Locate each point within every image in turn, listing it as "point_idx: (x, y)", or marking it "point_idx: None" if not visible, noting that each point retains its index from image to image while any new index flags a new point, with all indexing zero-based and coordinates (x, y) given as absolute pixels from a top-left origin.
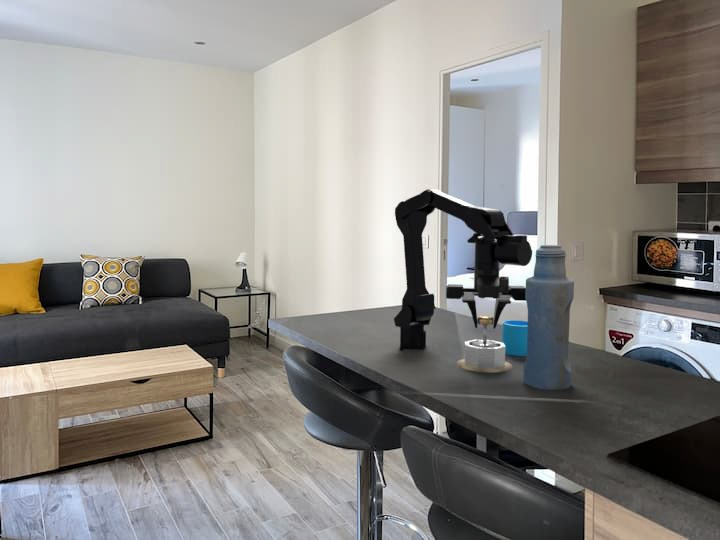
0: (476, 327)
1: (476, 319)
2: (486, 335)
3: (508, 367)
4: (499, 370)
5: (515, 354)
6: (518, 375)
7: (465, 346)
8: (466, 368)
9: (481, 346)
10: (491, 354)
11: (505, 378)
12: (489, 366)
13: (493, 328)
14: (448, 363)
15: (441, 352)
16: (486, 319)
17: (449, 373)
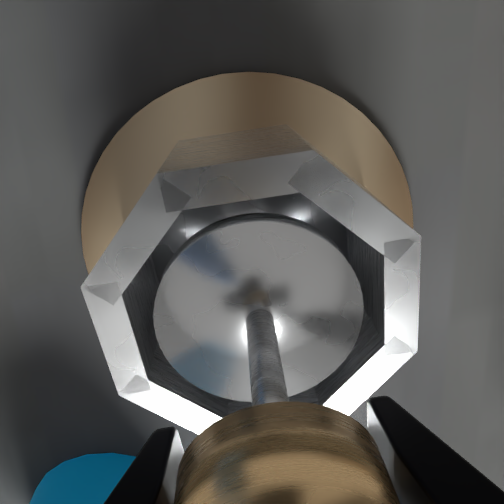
0: (378, 400)
1: (430, 480)
2: (251, 366)
3: (102, 231)
4: (144, 143)
5: (107, 465)
6: (21, 113)
7: (416, 234)
8: (356, 128)
9: (283, 232)
10: (190, 158)
11: (87, 5)
12: (208, 139)
13: (176, 430)
14: (451, 252)
15: (470, 431)
16: (270, 475)
17: (464, 20)
